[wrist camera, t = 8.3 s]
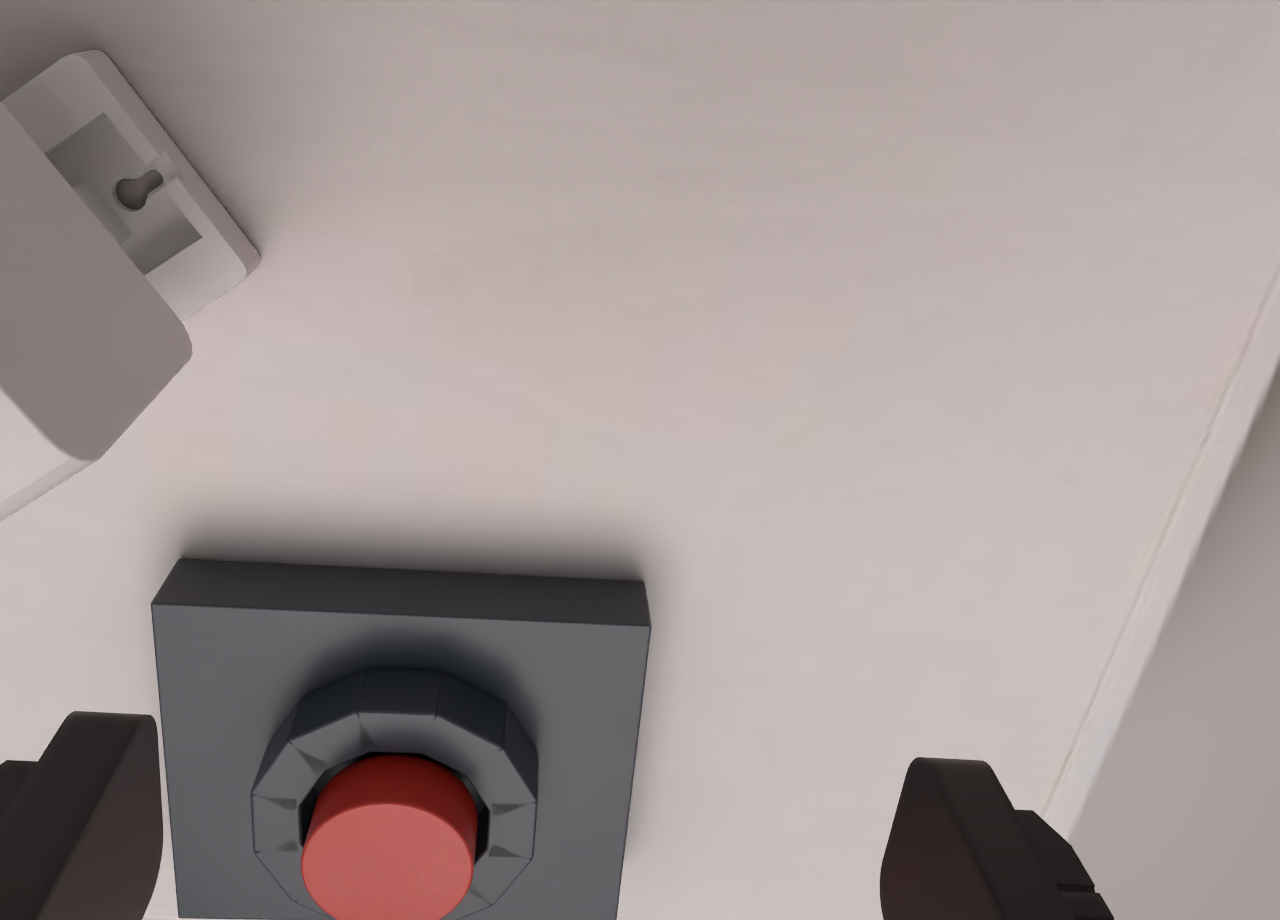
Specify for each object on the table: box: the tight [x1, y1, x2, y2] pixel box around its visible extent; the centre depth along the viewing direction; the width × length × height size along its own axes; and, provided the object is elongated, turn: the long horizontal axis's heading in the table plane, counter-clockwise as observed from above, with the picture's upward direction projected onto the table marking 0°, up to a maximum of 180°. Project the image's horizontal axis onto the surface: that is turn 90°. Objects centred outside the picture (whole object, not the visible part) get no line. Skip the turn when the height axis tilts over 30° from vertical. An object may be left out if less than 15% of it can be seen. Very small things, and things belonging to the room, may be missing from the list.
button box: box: [151, 559, 651, 920], centre depth 29 cm, size 12×10×4 cm
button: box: [301, 754, 478, 920], centre depth 27 cm, size 4×4×2 cm
